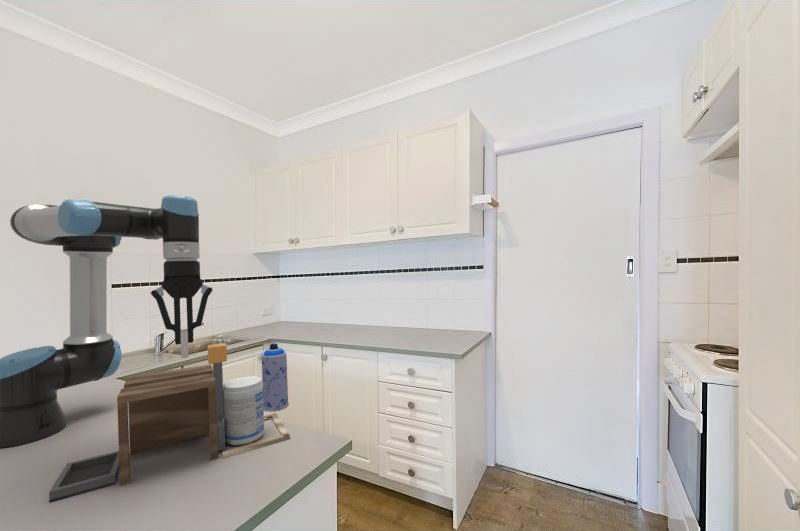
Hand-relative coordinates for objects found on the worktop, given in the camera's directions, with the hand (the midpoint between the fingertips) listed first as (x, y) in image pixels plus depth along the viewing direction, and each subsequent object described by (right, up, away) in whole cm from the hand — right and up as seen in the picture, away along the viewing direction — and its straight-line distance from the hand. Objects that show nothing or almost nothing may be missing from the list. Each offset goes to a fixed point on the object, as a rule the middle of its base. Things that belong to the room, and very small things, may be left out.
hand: (184, 356), depth 85 cm
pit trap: (-14, -24, -10) cm, 29 cm away
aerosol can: (+13, -23, +26) cm, 37 cm away
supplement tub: (+12, -23, +6) cm, 27 cm away
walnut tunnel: (-2, -23, -2) cm, 23 cm away
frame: (+13, -23, +7) cm, 28 cm away
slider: (+7, -23, +3) cm, 24 cm away
